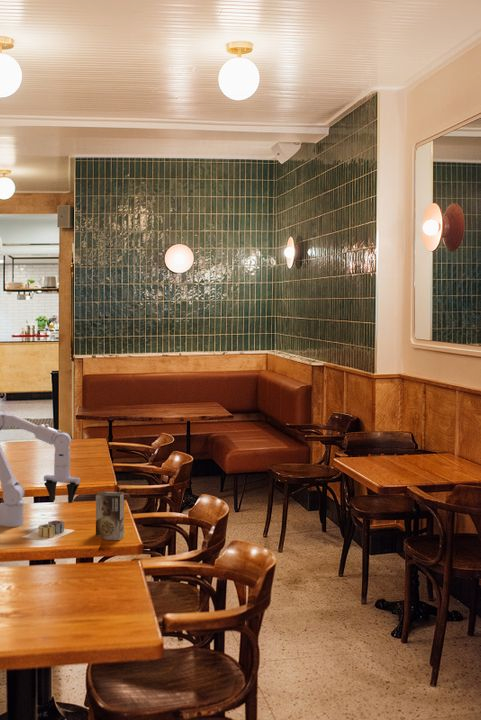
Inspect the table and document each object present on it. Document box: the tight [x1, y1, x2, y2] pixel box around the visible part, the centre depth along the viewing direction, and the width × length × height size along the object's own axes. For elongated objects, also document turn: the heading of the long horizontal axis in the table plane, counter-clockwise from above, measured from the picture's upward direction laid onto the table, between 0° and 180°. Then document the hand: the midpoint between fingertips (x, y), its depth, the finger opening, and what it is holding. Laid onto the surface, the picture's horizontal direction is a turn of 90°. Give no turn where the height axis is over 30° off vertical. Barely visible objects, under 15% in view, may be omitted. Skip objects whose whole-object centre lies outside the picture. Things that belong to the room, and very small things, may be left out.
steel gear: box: [47, 520, 65, 534], centre depth 295 cm, size 6×6×3 cm
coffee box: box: [95, 490, 125, 541], centre depth 293 cm, size 9×6×16 cm
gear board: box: [22, 520, 76, 542], centre depth 292 cm, size 12×16×5 cm
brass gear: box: [38, 524, 55, 538], centre depth 289 cm, size 6×6×3 cm
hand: (61, 501), depth 305 cm, fingers open, 7 cm apart
